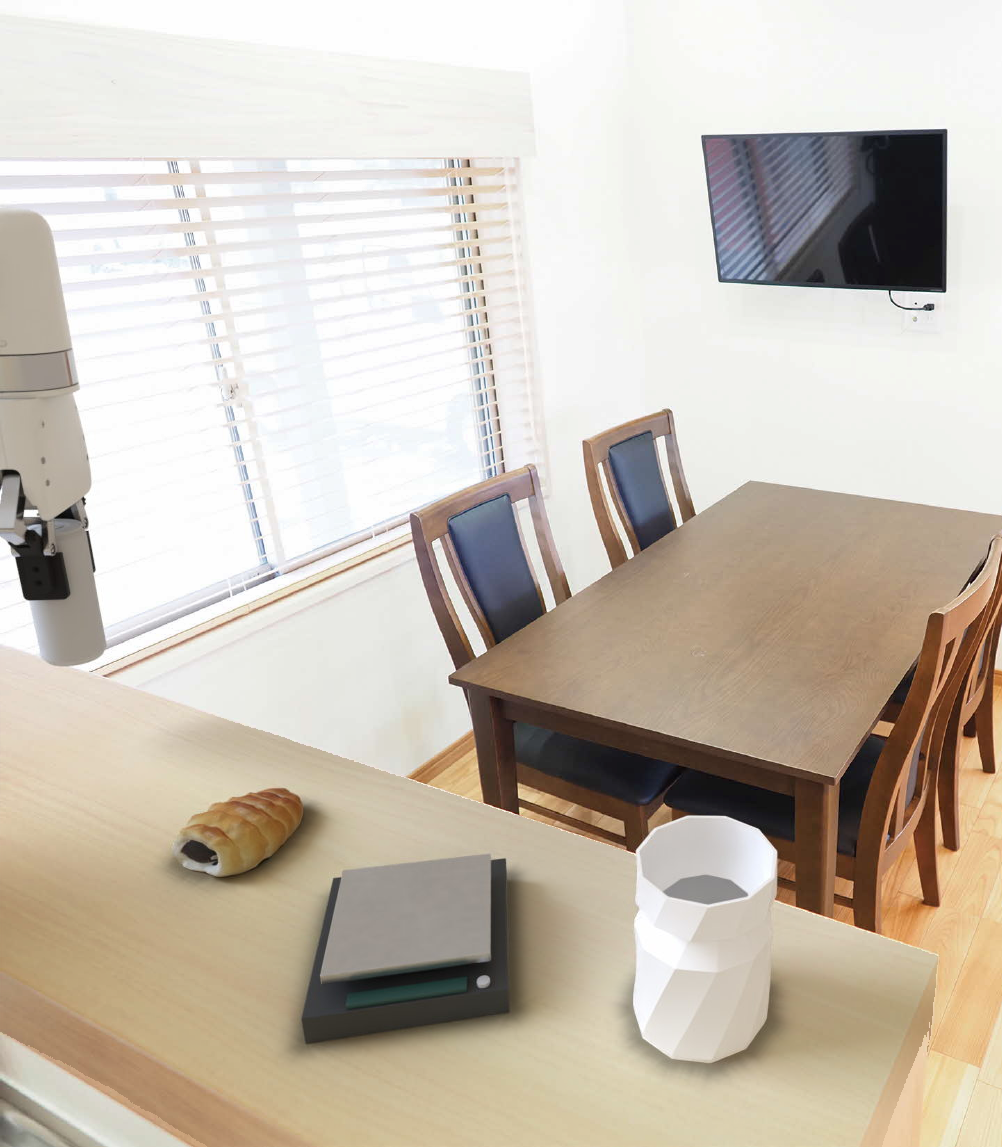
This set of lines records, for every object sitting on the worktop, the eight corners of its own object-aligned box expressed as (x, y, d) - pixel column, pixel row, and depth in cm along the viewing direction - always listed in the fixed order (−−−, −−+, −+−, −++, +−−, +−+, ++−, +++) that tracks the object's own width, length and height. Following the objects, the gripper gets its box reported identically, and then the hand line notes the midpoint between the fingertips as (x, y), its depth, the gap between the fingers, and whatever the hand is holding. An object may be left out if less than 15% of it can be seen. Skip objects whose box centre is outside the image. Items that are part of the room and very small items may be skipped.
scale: (305, 1046, 59) (300, 1015, 58) (336, 902, 70) (332, 874, 69) (509, 1014, 62) (508, 984, 61) (507, 881, 73) (505, 854, 72)
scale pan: (321, 985, 59) (319, 975, 59) (343, 879, 68) (342, 869, 68) (491, 962, 62) (490, 951, 61) (491, 862, 71) (490, 853, 70)
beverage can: (27, 663, 84) (-2, 531, 79) (77, 641, 88) (52, 515, 84) (74, 672, 83) (47, 538, 79) (121, 650, 87) (98, 522, 83)
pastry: (262, 799, 81) (256, 760, 80) (328, 819, 79) (323, 779, 78) (164, 866, 73) (156, 824, 71) (235, 890, 71) (228, 848, 70)
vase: (723, 1089, 58) (731, 929, 53) (605, 1026, 61) (604, 872, 57) (791, 993, 65) (804, 844, 60) (682, 942, 69) (686, 799, 64)
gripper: (12, 355, 83) (51, 554, 90) (-97, 390, 68) (-40, 628, 74) (111, 357, 85) (143, 552, 92) (27, 393, 70) (73, 624, 76)
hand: (61, 584), depth 83 cm, fingers closed on beverage can, 4 cm apart
